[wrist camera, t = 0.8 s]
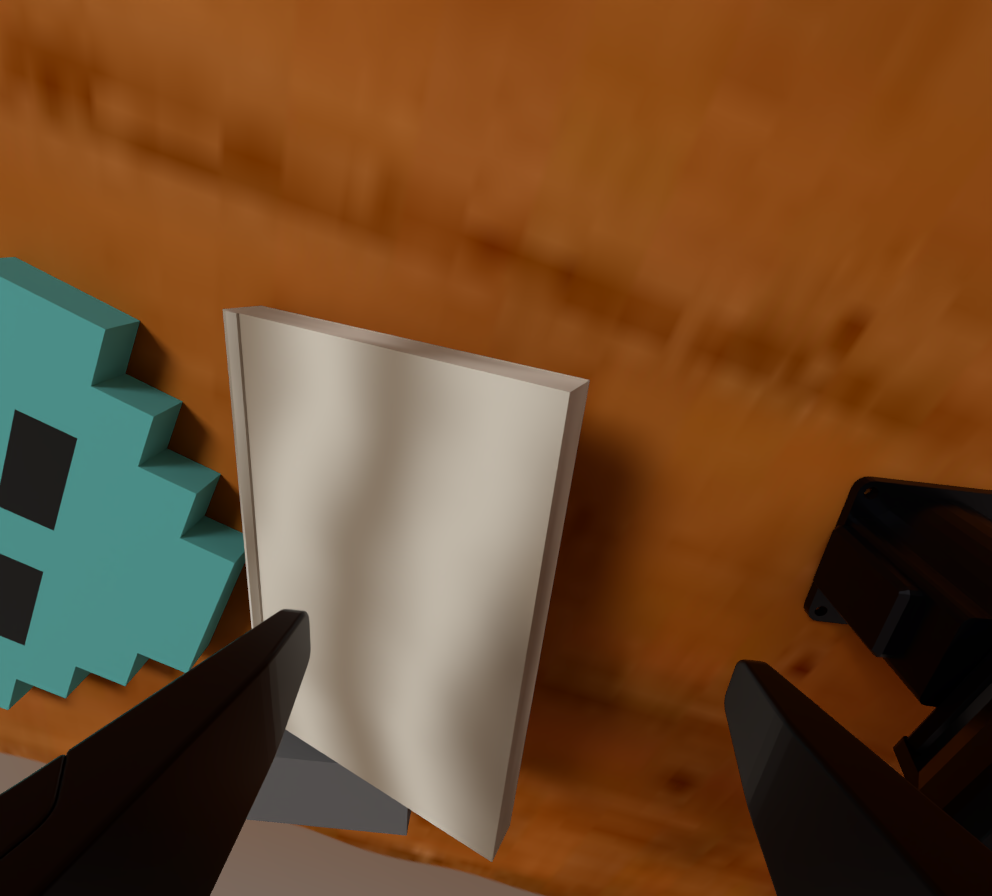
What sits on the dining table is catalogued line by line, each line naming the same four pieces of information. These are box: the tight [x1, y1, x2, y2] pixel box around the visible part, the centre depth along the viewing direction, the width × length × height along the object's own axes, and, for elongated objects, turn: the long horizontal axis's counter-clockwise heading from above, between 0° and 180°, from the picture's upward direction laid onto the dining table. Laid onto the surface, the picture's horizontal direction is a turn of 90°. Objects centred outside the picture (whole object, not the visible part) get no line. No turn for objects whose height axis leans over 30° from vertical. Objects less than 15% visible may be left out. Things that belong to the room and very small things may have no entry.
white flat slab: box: [223, 306, 590, 862], centre depth 19 cm, size 12×18×2 cm, turn 174°
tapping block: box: [246, 729, 411, 835], centre depth 26 cm, size 8×4×3 cm, turn 85°
